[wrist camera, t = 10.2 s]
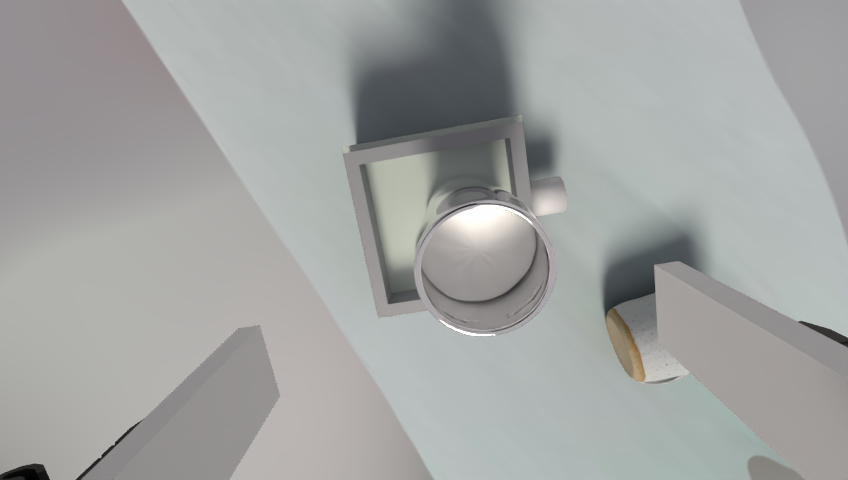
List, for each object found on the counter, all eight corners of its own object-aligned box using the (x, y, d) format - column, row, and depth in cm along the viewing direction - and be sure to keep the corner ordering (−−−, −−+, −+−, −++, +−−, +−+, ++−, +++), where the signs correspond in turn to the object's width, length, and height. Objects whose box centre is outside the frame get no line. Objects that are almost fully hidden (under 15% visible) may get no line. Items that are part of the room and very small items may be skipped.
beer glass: (404, 201, 34) (379, 250, 19) (478, 152, 33) (511, 163, 18) (451, 271, 35) (461, 366, 20) (524, 225, 34) (590, 292, 19)
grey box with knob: (356, 145, 39) (334, 147, 30) (542, 111, 37) (571, 104, 29) (385, 287, 42) (373, 324, 34) (558, 260, 41) (588, 292, 32)
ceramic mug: (593, 297, 41) (628, 333, 34) (676, 270, 40) (731, 301, 33) (620, 386, 44) (657, 438, 36) (699, 362, 43) (754, 411, 35)
